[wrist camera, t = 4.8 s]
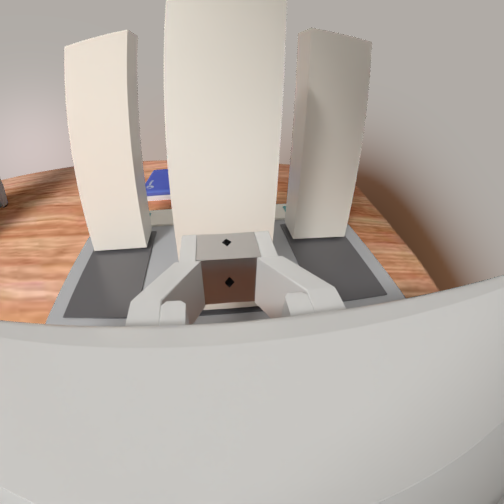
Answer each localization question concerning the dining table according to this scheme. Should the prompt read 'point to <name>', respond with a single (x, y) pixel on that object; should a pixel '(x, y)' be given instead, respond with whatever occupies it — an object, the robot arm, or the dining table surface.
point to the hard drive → (158, 186)
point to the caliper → (2, 196)
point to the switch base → (162, 257)
